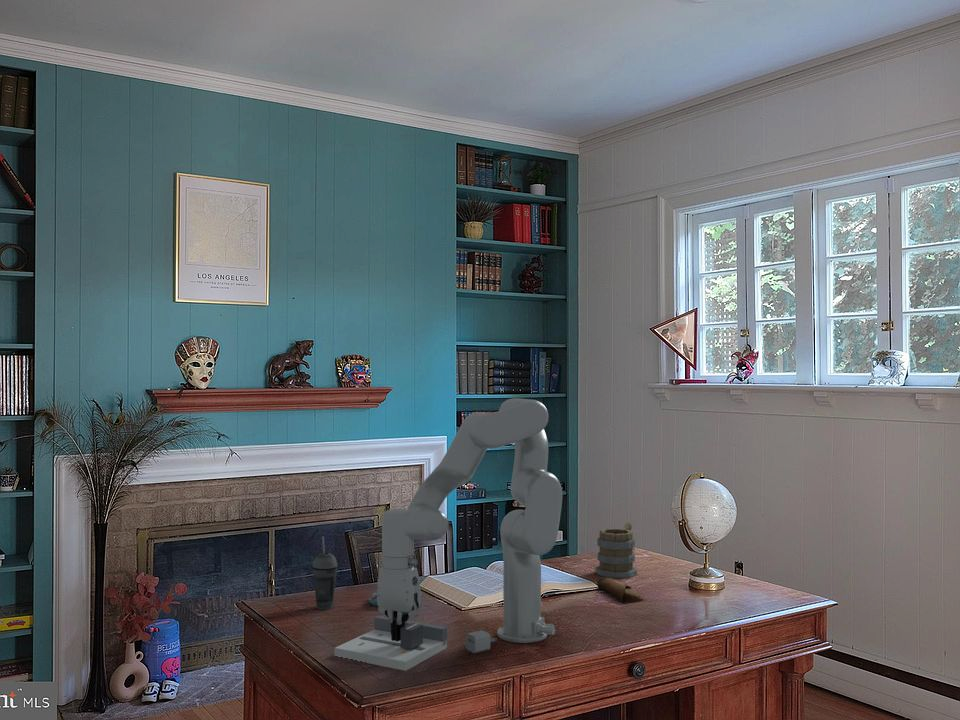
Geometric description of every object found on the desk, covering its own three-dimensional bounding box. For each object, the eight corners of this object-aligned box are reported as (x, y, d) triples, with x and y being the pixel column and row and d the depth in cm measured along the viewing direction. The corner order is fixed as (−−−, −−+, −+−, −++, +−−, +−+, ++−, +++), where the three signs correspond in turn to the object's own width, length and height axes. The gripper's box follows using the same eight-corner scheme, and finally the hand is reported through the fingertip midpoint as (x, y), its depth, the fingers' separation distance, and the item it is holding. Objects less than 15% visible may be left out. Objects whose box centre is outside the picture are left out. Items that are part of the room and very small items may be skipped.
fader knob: (422, 643, 200) (422, 624, 200) (411, 649, 195) (411, 629, 195) (412, 641, 201) (412, 622, 201) (400, 647, 197) (400, 628, 197)
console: (447, 647, 204) (447, 626, 204) (405, 670, 188) (405, 648, 188) (379, 635, 214) (379, 615, 214) (334, 656, 198) (334, 634, 198)
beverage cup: (320, 613, 233) (320, 540, 234) (307, 607, 239) (307, 536, 239) (342, 608, 238) (343, 537, 238) (329, 602, 244) (329, 533, 244)
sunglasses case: (649, 600, 246) (638, 581, 245) (630, 614, 244) (619, 595, 243) (621, 585, 263) (611, 568, 262) (603, 599, 261) (593, 581, 260)
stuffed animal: (390, 577, 252) (410, 577, 243) (392, 602, 251) (412, 603, 241) (358, 582, 246) (377, 583, 236) (360, 607, 245) (379, 609, 235)
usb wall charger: (466, 649, 203) (466, 632, 203) (489, 644, 207) (489, 627, 207) (475, 653, 200) (475, 636, 200) (499, 648, 204) (499, 631, 204)
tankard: (626, 580, 270) (626, 533, 271) (590, 574, 277) (590, 529, 277) (649, 568, 287) (649, 523, 287) (615, 563, 294) (615, 520, 294)
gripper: (433, 562, 200) (433, 640, 200) (381, 555, 207) (381, 630, 207) (415, 568, 194) (415, 649, 193) (363, 561, 201) (363, 639, 200)
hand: (397, 639), depth 200 cm, fingers closed
